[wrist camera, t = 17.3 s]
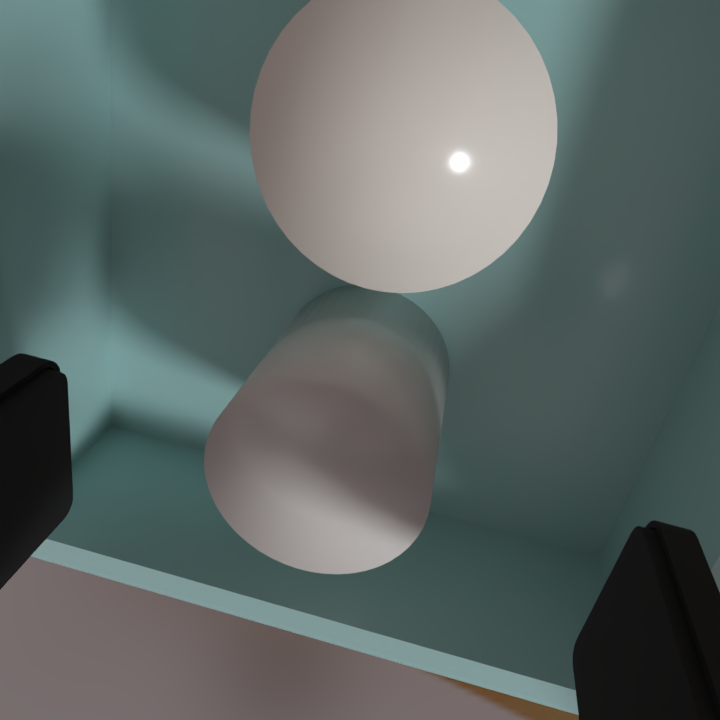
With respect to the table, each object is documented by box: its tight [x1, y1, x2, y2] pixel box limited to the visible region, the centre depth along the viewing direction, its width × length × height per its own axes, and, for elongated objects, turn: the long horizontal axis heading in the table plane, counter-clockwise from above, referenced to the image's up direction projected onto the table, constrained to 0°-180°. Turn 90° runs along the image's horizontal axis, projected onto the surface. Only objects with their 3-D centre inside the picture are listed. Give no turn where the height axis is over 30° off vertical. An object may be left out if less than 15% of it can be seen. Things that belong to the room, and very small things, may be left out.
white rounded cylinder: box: [204, 285, 449, 574], centre depth 14 cm, size 4×4×5 cm
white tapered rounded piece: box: [250, 0, 557, 293], centre depth 11 cm, size 4×4×5 cm
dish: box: [0, 0, 720, 715], centre depth 13 cm, size 15×15×5 cm
